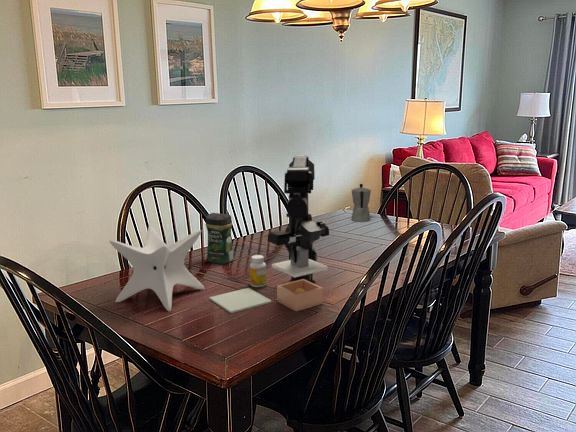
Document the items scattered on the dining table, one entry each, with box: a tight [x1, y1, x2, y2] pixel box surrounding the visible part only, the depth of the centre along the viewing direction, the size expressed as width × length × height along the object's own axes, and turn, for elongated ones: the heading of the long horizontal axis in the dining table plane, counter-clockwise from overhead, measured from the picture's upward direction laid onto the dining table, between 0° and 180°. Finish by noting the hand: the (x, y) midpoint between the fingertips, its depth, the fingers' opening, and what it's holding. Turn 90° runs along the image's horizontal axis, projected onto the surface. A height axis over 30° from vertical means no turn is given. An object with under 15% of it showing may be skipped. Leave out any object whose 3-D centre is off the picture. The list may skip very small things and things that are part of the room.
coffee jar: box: [205, 212, 234, 265], centre depth 206 cm, size 10×8×19 cm
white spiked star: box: [108, 225, 205, 312], centre depth 171 cm, size 20×20×20 cm
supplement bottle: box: [249, 254, 267, 288], centre depth 181 cm, size 5×5×10 cm
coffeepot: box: [351, 183, 372, 223], centre depth 267 cm, size 15×9×18 cm, turn 175°
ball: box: [294, 288, 305, 294], centre depth 165 cm, size 4×4×4 cm
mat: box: [208, 287, 273, 314], centre depth 168 cm, size 14×14×1 cm
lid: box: [271, 246, 329, 278], centre depth 163 cm, size 12×12×6 cm
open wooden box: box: [276, 279, 324, 312], centre depth 165 cm, size 10×10×5 cm
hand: (299, 261), depth 163 cm, fingers closed on lid, 3 cm apart
